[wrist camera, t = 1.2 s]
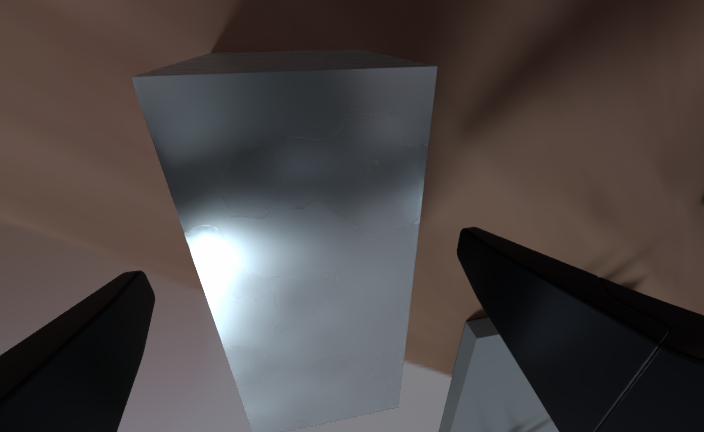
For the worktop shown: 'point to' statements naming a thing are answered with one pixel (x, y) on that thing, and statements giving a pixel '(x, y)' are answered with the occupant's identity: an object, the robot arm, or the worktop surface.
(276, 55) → the block
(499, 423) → the grey peg plate
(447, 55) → the worktop surface
